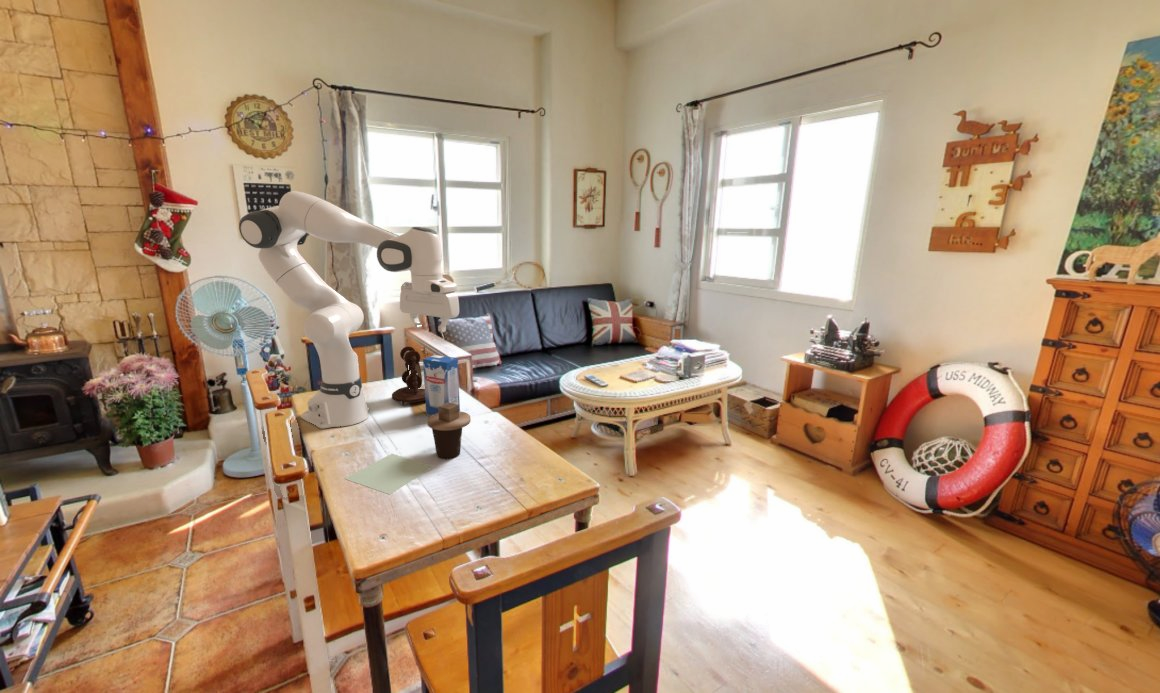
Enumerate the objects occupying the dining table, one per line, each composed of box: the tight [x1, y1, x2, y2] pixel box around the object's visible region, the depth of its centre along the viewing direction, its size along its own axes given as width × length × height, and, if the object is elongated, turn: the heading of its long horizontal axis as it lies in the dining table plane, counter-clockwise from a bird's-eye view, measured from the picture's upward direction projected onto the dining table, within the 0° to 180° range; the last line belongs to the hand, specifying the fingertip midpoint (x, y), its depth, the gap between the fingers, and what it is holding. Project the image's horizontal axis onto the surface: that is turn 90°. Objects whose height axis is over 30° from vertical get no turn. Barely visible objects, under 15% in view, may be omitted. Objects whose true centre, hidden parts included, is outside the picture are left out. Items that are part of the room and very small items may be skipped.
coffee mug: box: [431, 428, 463, 460], centre depth 141 cm, size 12×9×10 cm
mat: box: [344, 453, 435, 495], centre depth 129 cm, size 16×16×1 cm
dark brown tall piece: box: [391, 346, 425, 406], centre depth 181 cm, size 15×15×20 cm
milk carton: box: [422, 354, 461, 416], centre depth 169 cm, size 10×6×20 cm, turn 67°
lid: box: [426, 402, 471, 431], centre depth 139 cm, size 12×12×5 cm
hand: (430, 329), depth 146 cm, fingers open, 8 cm apart
